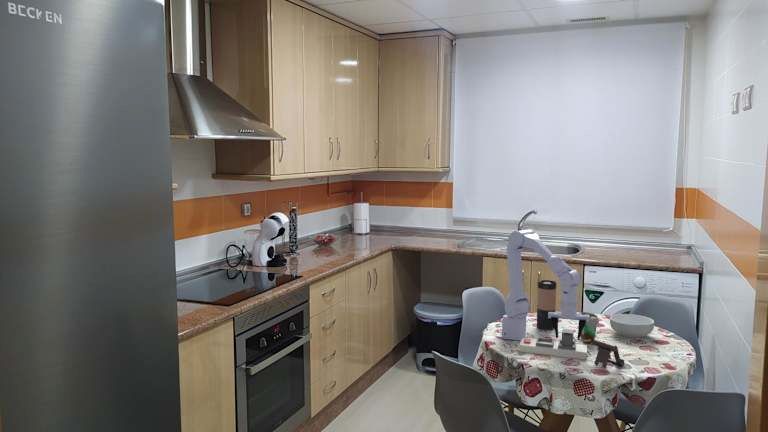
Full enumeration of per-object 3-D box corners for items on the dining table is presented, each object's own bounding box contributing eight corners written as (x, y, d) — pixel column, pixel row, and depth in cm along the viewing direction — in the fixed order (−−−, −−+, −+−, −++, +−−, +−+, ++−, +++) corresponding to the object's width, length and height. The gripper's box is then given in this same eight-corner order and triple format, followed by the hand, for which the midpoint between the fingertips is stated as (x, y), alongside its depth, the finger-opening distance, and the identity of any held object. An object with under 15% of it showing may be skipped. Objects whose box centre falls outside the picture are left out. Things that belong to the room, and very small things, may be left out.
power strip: (519, 351, 224) (519, 341, 224) (521, 344, 233) (522, 334, 232) (586, 359, 216) (586, 349, 216) (586, 351, 225) (587, 341, 224)
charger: (561, 348, 221) (561, 332, 220) (561, 343, 226) (562, 328, 225) (572, 349, 219) (573, 333, 219) (572, 345, 224) (573, 329, 224)
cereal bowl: (633, 328, 255) (634, 312, 255) (662, 339, 240) (663, 322, 239) (600, 331, 250) (601, 315, 249) (628, 343, 234) (629, 326, 234)
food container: (600, 345, 232) (601, 320, 231) (583, 344, 233) (584, 319, 232) (595, 336, 244) (596, 312, 243) (579, 335, 245) (580, 311, 244)
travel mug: (556, 330, 250) (558, 284, 248) (538, 330, 250) (540, 283, 248) (551, 325, 258) (553, 280, 256) (534, 325, 258) (536, 279, 256)
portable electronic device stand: (624, 366, 210) (626, 343, 209) (610, 370, 206) (611, 347, 205) (603, 358, 217) (604, 336, 217) (589, 362, 213) (590, 340, 212)
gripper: (548, 303, 219) (546, 339, 221) (589, 307, 215) (588, 343, 216) (549, 299, 226) (548, 333, 227) (589, 302, 221) (588, 338, 223)
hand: (567, 338), depth 222 cm, fingers open, 7 cm apart
